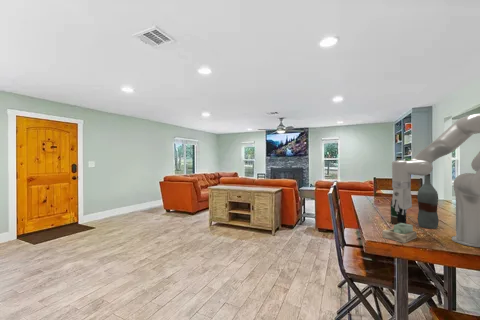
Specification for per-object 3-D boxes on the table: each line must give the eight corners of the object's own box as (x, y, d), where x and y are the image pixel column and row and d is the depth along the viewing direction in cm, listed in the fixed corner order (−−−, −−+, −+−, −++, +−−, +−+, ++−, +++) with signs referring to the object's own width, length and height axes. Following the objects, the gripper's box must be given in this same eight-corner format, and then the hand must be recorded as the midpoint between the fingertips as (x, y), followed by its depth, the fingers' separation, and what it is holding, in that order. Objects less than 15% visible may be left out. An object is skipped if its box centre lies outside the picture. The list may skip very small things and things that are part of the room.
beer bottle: (409, 225, 133) (409, 184, 133) (396, 225, 133) (395, 184, 133) (400, 221, 141) (400, 182, 141) (387, 222, 141) (387, 182, 141)
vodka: (421, 228, 128) (420, 174, 128) (414, 223, 137) (414, 173, 137) (442, 229, 125) (441, 174, 125) (434, 225, 134) (433, 173, 134)
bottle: (412, 225, 115) (401, 228, 109) (412, 235, 115) (401, 239, 109) (401, 222, 119) (390, 226, 113) (401, 232, 119) (390, 236, 113)
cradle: (416, 237, 113) (416, 230, 113) (404, 242, 106) (404, 235, 106) (395, 232, 121) (395, 226, 121) (382, 237, 114) (382, 230, 114)
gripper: (402, 187, 107) (403, 226, 107) (416, 185, 115) (417, 221, 115) (385, 185, 114) (385, 222, 114) (400, 183, 122) (400, 218, 121)
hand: (401, 222), depth 114 cm, fingers closed
